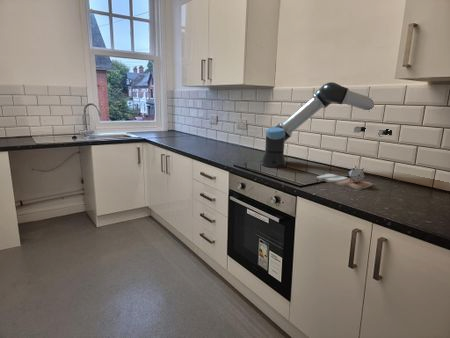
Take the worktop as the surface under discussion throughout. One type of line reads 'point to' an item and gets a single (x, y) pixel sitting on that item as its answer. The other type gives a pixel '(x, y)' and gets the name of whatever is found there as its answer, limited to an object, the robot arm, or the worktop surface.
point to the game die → (356, 174)
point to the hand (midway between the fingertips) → (366, 131)
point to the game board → (343, 181)
